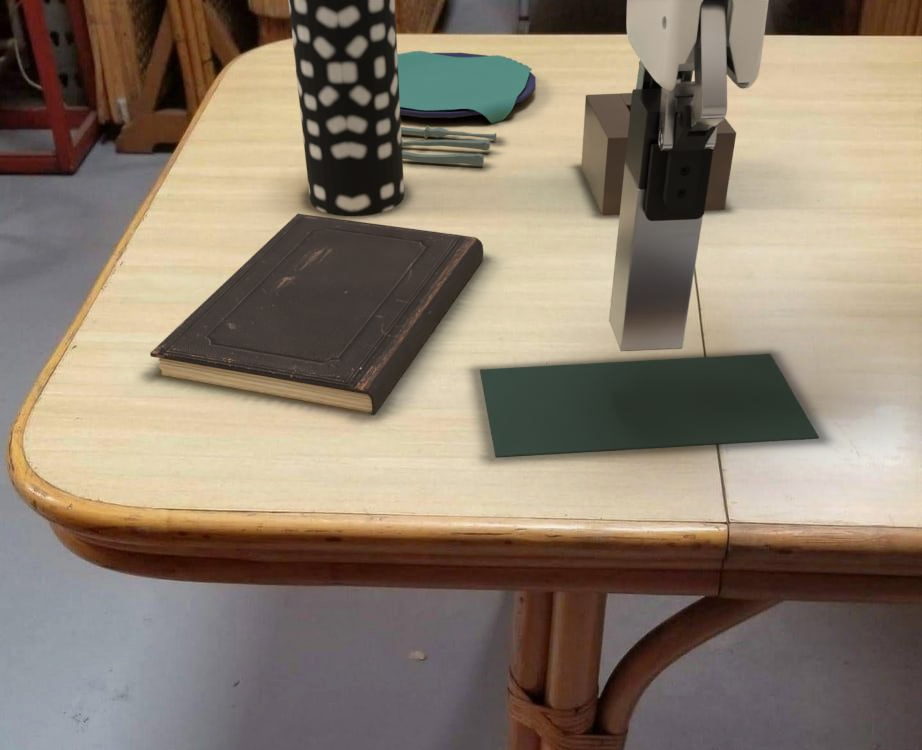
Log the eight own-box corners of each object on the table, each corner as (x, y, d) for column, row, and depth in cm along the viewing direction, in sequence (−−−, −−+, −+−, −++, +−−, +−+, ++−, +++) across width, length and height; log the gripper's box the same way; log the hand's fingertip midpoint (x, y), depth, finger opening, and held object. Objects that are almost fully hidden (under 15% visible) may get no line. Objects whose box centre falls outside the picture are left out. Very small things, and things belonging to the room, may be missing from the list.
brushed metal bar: (668, 318, 67) (701, 87, 58) (682, 349, 64) (719, 110, 55) (608, 320, 67) (632, 88, 58) (620, 352, 64) (647, 113, 55)
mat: (768, 360, 74) (770, 353, 73) (817, 444, 66) (819, 436, 66) (479, 376, 73) (479, 369, 72) (495, 464, 65) (495, 455, 65)
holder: (693, 167, 100) (703, 89, 95) (723, 215, 92) (736, 132, 87) (580, 172, 99) (585, 94, 94) (601, 220, 91) (608, 138, 86)
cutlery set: (548, 75, 120) (549, 53, 119) (502, 178, 98) (502, 152, 97) (377, 65, 124) (376, 44, 122) (295, 163, 101) (292, 139, 100)
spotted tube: (291, 202, 95) (260, -52, 82) (362, 175, 99) (343, -69, 86) (352, 230, 90) (330, -34, 77) (423, 200, 95) (414, -54, 82)
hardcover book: (156, 381, 73) (149, 352, 71) (300, 239, 89) (297, 212, 87) (375, 421, 69) (373, 391, 67) (483, 265, 85) (483, 237, 83)
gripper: (859, -169, 42) (773, 264, 54) (740, -216, 55) (692, 144, 67) (671, -165, 42) (627, 271, 54) (595, -214, 54) (573, 148, 66)
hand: (664, 197), depth 60 cm, fingers closed on brushed metal bar, 3 cm apart
